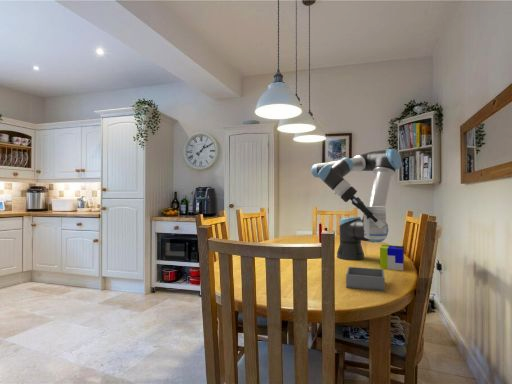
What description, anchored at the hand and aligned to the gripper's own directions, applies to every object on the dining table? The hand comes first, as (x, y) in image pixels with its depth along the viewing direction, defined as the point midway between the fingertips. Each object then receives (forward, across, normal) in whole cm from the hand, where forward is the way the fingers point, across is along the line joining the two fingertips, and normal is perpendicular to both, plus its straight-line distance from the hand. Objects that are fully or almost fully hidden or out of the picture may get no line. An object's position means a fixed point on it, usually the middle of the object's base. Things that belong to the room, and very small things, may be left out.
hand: (382, 225), depth 137 cm
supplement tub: (+2, 0, -6) cm, 7 cm away
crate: (+10, +20, -20) cm, 30 cm away
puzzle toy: (+19, -16, -12) cm, 28 cm away
